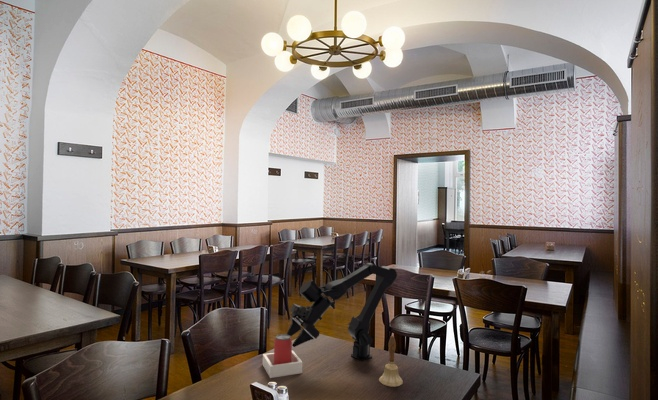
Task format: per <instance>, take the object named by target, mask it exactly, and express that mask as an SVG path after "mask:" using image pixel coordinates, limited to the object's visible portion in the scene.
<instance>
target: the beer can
mask: <svg viewBox="0 0 658 400" xmlns="http://www.w3.org/2000/svg"><path fill="white" fill-rule="evenodd" d="M291 337H292V336H290V335H287V333H286V334H285V333H284V334H282V333H281V334H278V335H275V339H274V342H273V343H274V344H273V348H274V349H273V353H274V364H273V365H278V364H284V363H291V357H292V349H293V346H292V344H293V343H292V338H291Z"/></svg>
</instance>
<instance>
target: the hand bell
mask: <svg viewBox="0 0 658 400" xmlns="http://www.w3.org/2000/svg"><path fill="white" fill-rule="evenodd" d="M396 347H397V343H396V338H395V336H394V335H390V337H389V340H388V353H389V358H388V363H386V364H385V366H384V371H383V373H382V375H381V376H380V377H379V378H378V381H379V383H381V384H382V385H384V386H387V387H392V388H393V387H394V388H395V387H400V386H402V385H403V384H404V381H403V379H402V377H401V376H400V374H399V367H398V366H397V364H395V351H396Z"/></svg>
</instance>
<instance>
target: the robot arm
mask: <svg viewBox="0 0 658 400" xmlns="http://www.w3.org/2000/svg"><path fill="white" fill-rule="evenodd" d="M372 275H375V281H374V282H375V284H374V286H373V288H372V290H371V292H370V294H369V296H367V299H366V301H365V304H364V305H363V307H362V309H361V311H360V313H359V314H358V315H357V316H356V317H355V316H352V317H351V319H350V321H349V323H348V324H347V325H348V327H347V330H348V334H349V335H350V336H351V338H352V340H354V341H353V345H352V353H351V354H350V356H351V357H353V358H355V359H357V360H359V361H364V360H367V359H372V358H373V355H372V354H370V353H371V349H370V348H371V345H372V344H373V342H374V339H373V337H371V335H370V334H369V332H370V327H371V320H372V318H373V315H374V314H375V312H376V309H377V307H378V306H379V303H380V302H381V299H382V298H383V296H384V294H385V292H386V291H387V289H388V288H390V287H391V286H392V285H393V284H394V282H395V281H396V279H397V278H398V274H397V270H396V269H394V267H393V268H392V267H389V266H386V265H382V266H379V265H376V264H374V263H371V262H366V263H365V265H362V266H361V267H359V268H358V269H356V270H355V271H353V272H351V273H350V274H348V275H346V276H344V277H343V278H340V279H335V280H332V281H330V282H327V283H326V284H325V285H321V286H318V284H317V283H316V282H315V280H313V279H310V280H309V281H307V282H306V283H304V284H302V285H301V287H300V288H299V291H298V292H299V294H301V296H302V297H303V298H305V300H306V301H307V302H309V303H312V304H311V305H307V306H303V305H299V304H296V303H293V304H292V306H291V308H290V310H289V312H290V313H291V314H290V321H291V323H290V326H289V328H288V330H287V331H286V334H287V335H290V336H291V337H292V336H293V335H295V334H296V333H298V336H297V337H296V339H295V340H294V341H293V343H292V348H296V347H298V346H299V345H302V344H304V343H306V342H309V341H311V340H312V341H313V340H314V339H315V340H317V339H318V337H319V336H320V331H319V330H318V329H317V328H316V326H315V324H317V322H318V321H321V320H322V319H323V318H322V317H323V315H324V314H325V313H326V311H327V310H328V309H329V308H332V310H335V309H336V305H335V303H336V302H335V301H336V300H340V299H341V298H342V297H344V296H345V295H346V293H347V292H348V290H350V289H351V288H352V287H354V286H355V285H356V284H359V282H362V281H363V280H365V279H367V278H368V277H370V276H372ZM323 295H324V296H323ZM329 298H331V299H332V300H330V299H329ZM299 331H300V332H299Z"/></svg>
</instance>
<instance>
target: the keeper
mask: <svg viewBox="0 0 658 400" xmlns="http://www.w3.org/2000/svg"><path fill="white" fill-rule="evenodd" d="M262 366H263V368H264V370H265V372H266V373H267V375H268V377H269V379H272V378H279V377H285V376H292V375H298V374H303V361H302V359H301V358H300V357H299V356H298V355H297V354H296V352H295V351H294V350H292V357H291V363H284V364H278V365H274V352H269V353H268V352H267V353H263V354H262Z"/></svg>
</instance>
